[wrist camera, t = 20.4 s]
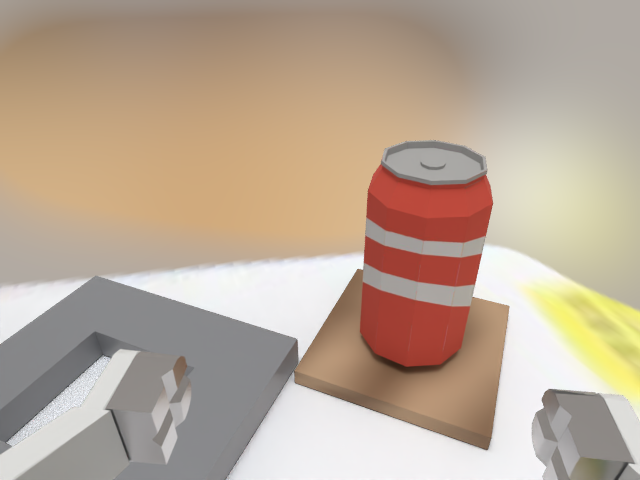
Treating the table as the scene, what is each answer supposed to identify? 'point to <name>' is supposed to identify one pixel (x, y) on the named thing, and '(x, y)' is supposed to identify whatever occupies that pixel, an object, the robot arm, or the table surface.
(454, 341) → the beverage can
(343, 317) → the coaster pad
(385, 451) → the table surface
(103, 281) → the dock
